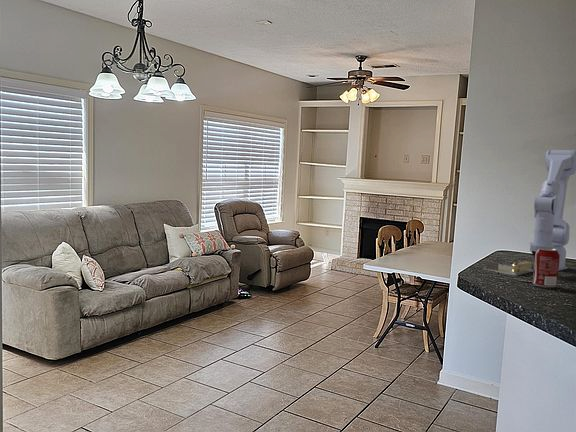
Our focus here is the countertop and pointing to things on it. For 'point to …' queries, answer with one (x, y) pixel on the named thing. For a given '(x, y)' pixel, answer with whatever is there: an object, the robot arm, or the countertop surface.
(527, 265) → the swing bar
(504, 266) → the plate
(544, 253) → the soda can
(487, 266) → the keeper
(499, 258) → the countertop surface
